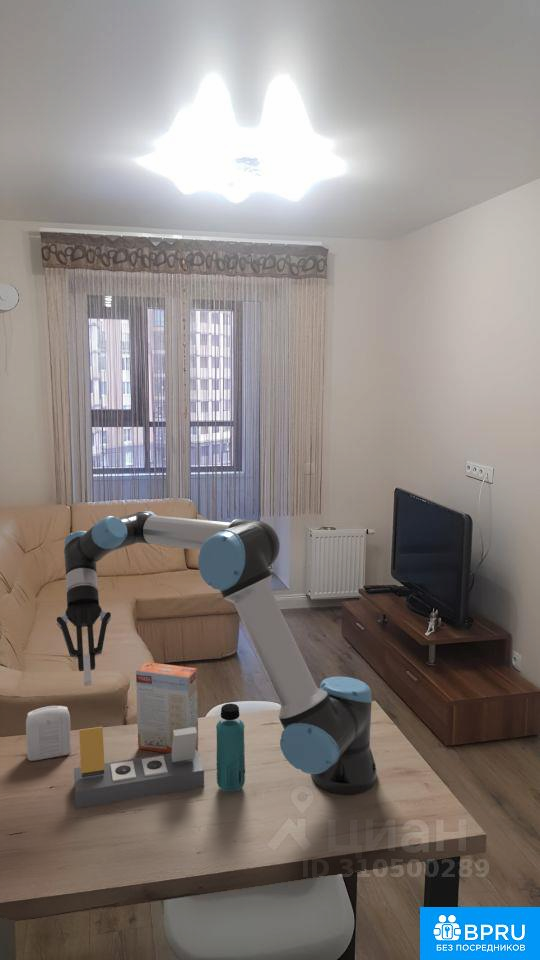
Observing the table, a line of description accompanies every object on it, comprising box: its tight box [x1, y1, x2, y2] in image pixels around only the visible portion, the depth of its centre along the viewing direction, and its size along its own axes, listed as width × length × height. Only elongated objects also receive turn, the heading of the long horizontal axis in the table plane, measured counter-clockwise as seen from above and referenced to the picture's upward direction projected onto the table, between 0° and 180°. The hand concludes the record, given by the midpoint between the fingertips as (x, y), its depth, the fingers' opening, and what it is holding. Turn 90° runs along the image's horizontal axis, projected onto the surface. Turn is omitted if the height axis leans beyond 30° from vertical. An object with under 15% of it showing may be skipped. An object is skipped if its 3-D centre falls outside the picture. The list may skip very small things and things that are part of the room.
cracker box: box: [135, 661, 199, 754], centre depth 171 cm, size 14×6×21 cm, turn 73°
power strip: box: [73, 748, 205, 809], centre depth 157 cm, size 28×9×4 cm, turn 107°
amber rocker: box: [78, 726, 105, 778], centre depth 155 cm, size 5×2×10 cm, turn 107°
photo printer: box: [25, 705, 72, 762], centre depth 168 cm, size 10×4×12 cm, turn 111°
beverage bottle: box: [215, 703, 246, 792], centre depth 155 cm, size 6×7×20 cm
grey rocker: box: [172, 727, 197, 763], centre depth 157 cm, size 5×2×10 cm, turn 107°
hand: (87, 683), depth 159 cm, fingers closed
